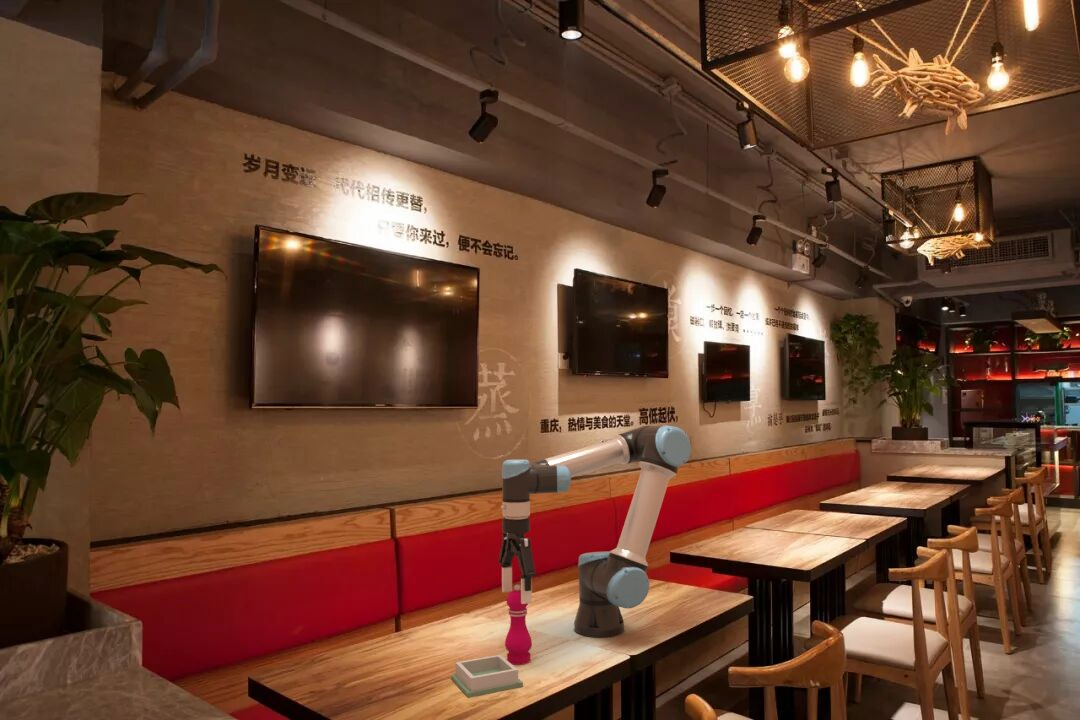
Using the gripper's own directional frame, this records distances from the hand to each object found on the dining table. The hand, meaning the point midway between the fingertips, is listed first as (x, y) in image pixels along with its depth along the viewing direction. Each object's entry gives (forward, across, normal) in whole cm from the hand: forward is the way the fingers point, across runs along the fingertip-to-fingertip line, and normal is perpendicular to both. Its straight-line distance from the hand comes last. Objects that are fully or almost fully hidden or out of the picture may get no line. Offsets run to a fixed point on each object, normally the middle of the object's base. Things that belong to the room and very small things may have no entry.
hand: (516, 597), depth 188 cm
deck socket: (+17, +10, -12) cm, 23 cm away
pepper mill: (+17, 0, 0) cm, 17 cm away
